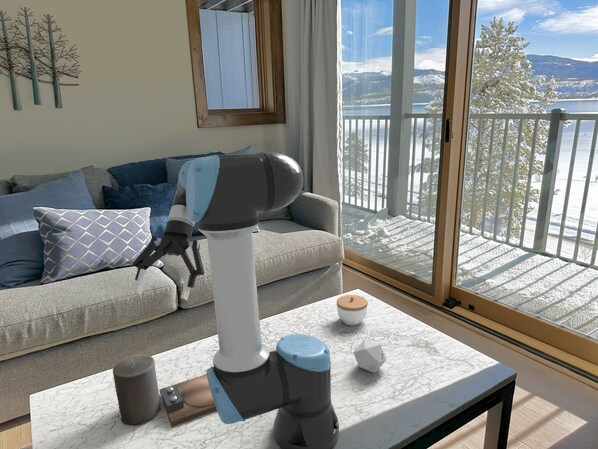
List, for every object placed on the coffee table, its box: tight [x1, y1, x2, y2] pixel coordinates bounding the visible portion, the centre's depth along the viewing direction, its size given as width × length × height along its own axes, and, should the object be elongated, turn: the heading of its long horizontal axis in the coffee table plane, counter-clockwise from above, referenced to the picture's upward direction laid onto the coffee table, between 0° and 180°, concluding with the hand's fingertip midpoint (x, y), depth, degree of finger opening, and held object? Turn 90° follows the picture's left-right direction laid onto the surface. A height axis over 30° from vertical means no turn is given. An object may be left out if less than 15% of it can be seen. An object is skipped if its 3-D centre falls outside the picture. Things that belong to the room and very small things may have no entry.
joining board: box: [159, 373, 217, 428], centre depth 109 cm, size 14×22×2 cm, turn 119°
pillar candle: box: [112, 353, 161, 427], centre depth 102 cm, size 10×10×15 cm
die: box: [353, 338, 387, 374], centre depth 118 cm, size 8×9×10 cm
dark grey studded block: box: [161, 385, 184, 413], centre depth 109 cm, size 7×22×3 cm, turn 119°
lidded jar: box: [336, 294, 369, 326], centre depth 144 cm, size 11×11×9 cm
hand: (160, 296), depth 110 cm, fingers open, 13 cm apart
